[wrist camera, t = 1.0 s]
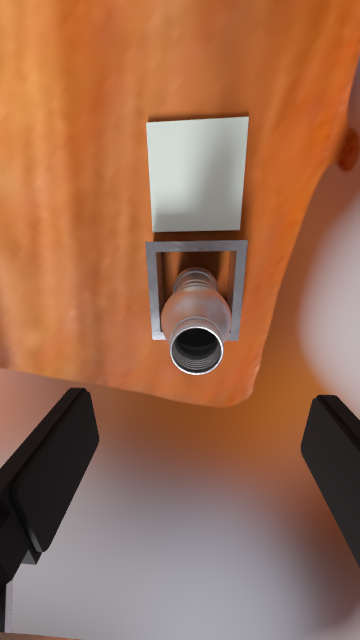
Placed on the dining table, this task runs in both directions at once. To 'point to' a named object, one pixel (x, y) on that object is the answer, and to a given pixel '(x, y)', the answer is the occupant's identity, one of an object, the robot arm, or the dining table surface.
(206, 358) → the plastic bottle
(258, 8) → the dining table surface
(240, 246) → the steel collar
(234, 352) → the dining table surface
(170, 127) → the mat
